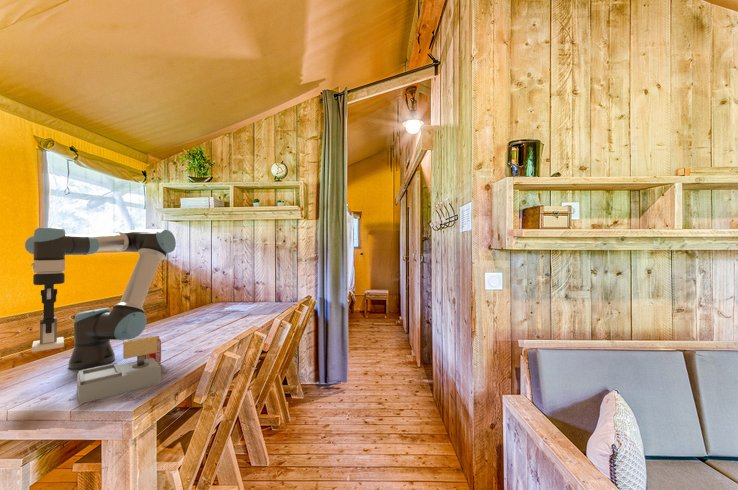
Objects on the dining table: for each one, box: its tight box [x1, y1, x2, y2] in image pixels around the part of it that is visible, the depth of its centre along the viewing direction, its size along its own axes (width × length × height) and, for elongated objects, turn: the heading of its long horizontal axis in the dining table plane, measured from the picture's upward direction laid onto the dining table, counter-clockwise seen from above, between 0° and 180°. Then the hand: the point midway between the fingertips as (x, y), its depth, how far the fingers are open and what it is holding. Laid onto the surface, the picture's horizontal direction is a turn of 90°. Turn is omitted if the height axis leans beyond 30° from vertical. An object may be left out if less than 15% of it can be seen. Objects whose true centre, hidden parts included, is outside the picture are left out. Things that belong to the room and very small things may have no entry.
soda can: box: [144, 335, 162, 365], centre depth 131 cm, size 7×7×12 cm
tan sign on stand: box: [122, 335, 158, 366], centre depth 116 cm, size 2×10×10 cm, turn 135°
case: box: [76, 358, 162, 405], centre depth 111 cm, size 14×22×7 cm, turn 135°
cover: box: [31, 316, 65, 353], centre depth 107 cm, size 10×7×10 cm
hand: (48, 340), depth 107 cm, fingers closed on cover, 4 cm apart
